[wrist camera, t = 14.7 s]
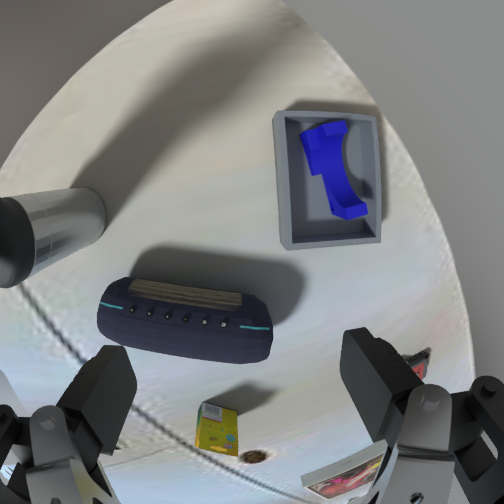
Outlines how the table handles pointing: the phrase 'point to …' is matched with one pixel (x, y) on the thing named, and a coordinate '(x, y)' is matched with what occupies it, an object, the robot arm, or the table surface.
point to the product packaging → (346, 473)
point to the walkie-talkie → (419, 364)
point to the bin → (312, 187)
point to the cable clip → (332, 168)
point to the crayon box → (217, 430)
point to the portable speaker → (186, 321)
